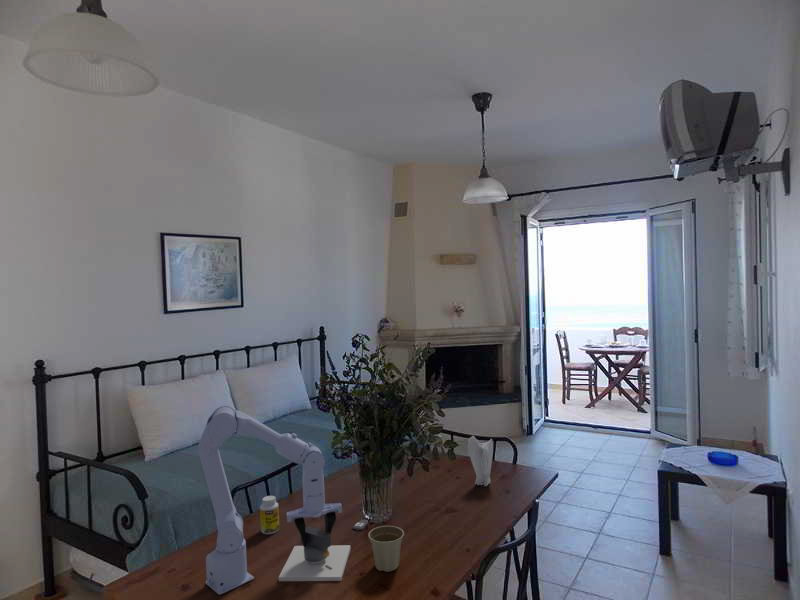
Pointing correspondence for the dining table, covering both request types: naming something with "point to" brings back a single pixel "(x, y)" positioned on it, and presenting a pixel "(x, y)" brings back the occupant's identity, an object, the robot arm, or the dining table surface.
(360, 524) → the key chain
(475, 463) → the white vase
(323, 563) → the post base
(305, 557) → the dark grey blocky piece
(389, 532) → the flower pot
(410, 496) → the dining table surface
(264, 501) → the supplement bottle
